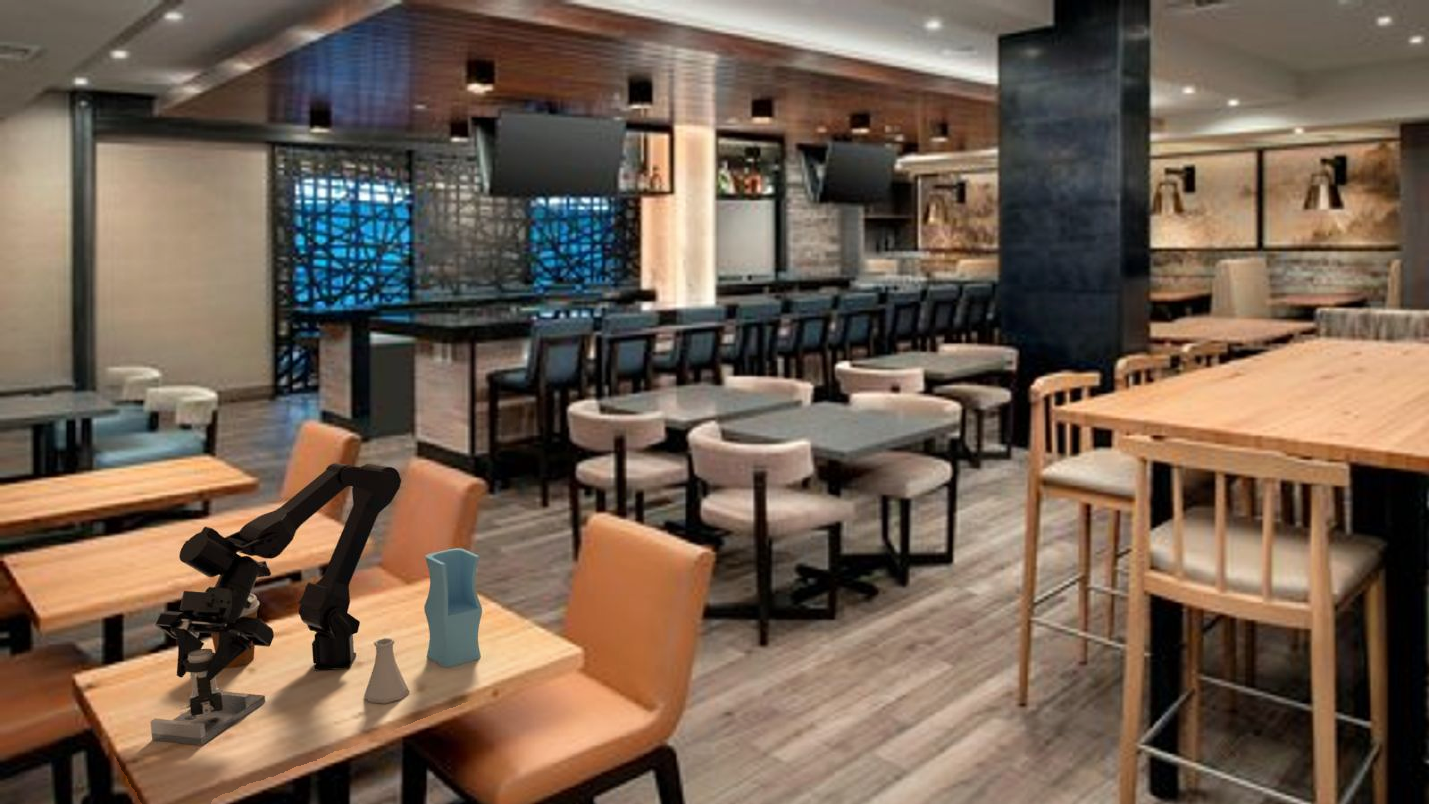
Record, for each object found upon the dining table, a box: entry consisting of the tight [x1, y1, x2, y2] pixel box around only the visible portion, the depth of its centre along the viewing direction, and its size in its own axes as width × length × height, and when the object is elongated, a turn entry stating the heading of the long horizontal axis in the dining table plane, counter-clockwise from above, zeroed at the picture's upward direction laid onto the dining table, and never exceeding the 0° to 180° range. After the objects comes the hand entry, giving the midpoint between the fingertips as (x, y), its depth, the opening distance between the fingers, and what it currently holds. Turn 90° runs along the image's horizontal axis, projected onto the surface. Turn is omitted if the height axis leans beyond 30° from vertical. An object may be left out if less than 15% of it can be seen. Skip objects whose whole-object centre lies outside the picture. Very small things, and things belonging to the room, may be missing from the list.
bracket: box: [150, 690, 266, 747], centre depth 172 cm, size 16×9×3 cm, turn 168°
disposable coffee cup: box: [210, 592, 260, 668], centre depth 196 cm, size 10×10×12 cm
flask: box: [363, 637, 410, 704], centre depth 181 cm, size 7×7×10 cm
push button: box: [178, 648, 223, 716], centre depth 170 cm, size 7×5×10 cm
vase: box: [423, 547, 483, 668], centre depth 197 cm, size 8×8×20 cm
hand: (193, 678), depth 168 cm, fingers closed on push button, 5 cm apart
